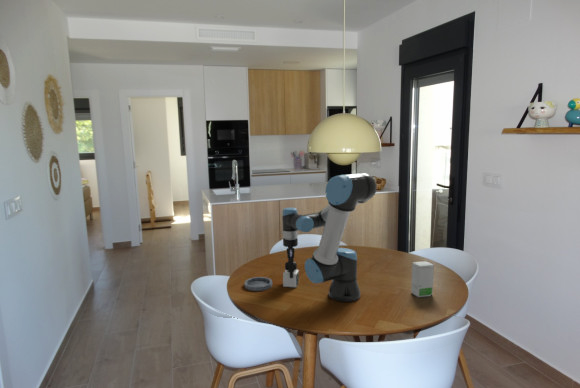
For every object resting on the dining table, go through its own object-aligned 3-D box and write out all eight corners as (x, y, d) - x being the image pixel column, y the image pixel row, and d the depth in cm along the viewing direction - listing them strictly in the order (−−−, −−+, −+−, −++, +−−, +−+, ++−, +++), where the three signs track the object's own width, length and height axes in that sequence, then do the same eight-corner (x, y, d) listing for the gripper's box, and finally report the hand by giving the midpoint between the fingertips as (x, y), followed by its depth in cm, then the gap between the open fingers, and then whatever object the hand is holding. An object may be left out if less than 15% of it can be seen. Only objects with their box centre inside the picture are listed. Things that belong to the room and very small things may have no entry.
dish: (277, 285, 210) (277, 281, 209) (257, 293, 200) (257, 289, 199) (259, 278, 219) (259, 275, 219) (239, 286, 209) (239, 282, 209)
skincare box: (417, 297, 191) (419, 266, 189) (410, 292, 197) (411, 262, 195) (433, 295, 193) (434, 264, 191) (425, 290, 200) (426, 260, 197)
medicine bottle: (296, 287, 206) (296, 265, 204) (283, 286, 207) (282, 264, 205) (299, 282, 212) (298, 260, 211) (285, 281, 214) (285, 260, 212)
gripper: (282, 233, 216) (283, 273, 220) (283, 243, 196) (284, 288, 199) (296, 232, 216) (297, 273, 220) (298, 243, 196) (299, 287, 199)
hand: (291, 280), depth 209 cm, fingers closed on medicine bottle, 8 cm apart
